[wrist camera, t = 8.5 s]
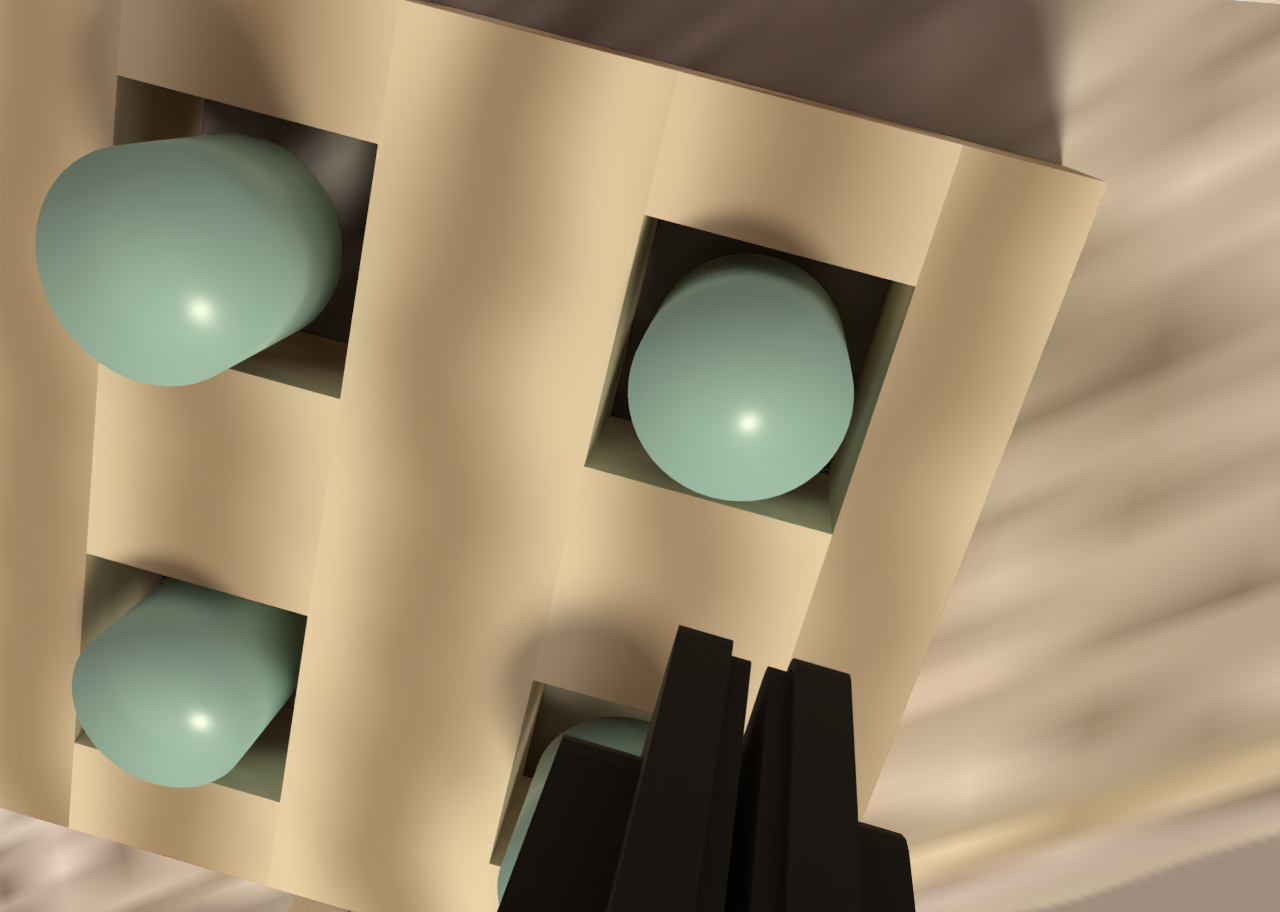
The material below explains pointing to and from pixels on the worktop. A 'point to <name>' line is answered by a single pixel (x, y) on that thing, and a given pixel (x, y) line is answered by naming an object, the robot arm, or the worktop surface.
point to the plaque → (312, 906)
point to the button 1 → (186, 253)
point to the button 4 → (743, 379)
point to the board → (481, 422)
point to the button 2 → (187, 682)
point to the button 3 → (600, 731)
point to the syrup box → (1265, 0)
